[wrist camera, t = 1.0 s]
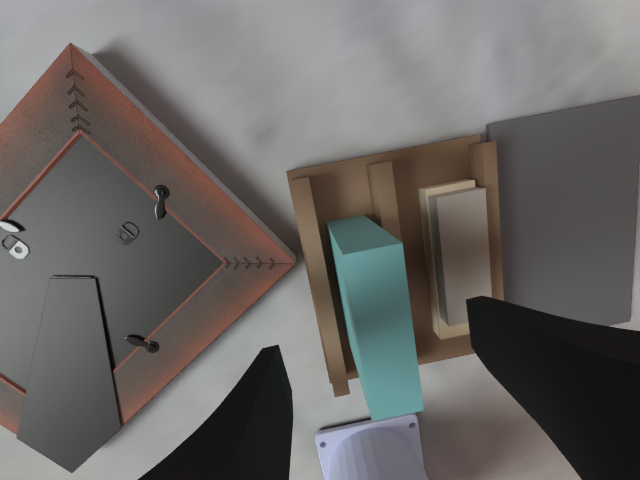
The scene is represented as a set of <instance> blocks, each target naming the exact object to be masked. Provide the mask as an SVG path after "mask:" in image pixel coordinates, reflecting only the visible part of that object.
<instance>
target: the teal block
mask: <svg viewBox="0 0 640 480" xmlns="http://www.w3.org/2000/svg"><path fill="white" fill-rule="evenodd" d="M326 224H327V229H328V235H329V240H330V246H331V251H332V256H333V262H334V267H335V273H336V278H337V284H338V289H339V294H340V300H341V305H342V311H343V316H344V322H345V327H346V332H347V337H348V340H349V344H350V347H351V351H352V354H353V357H354V361H355V364H356V368H357V371H358V375H359V378H360V381H361V385H362V388H363V392H364V395H365V399H366V402H367V406H368V409H369V412H370V416H371V419H372V421H377V420H382V419H386V418H391V417H396V416H401V415H405V414H410V413H415V412H419V411H424V409H423V401H422V393H421V385H420V378H419V370H418V362H417V354H416V346H415V338H414V330H413V322H412V314H411V307H410V299H409V291H408V283H407V275H406V267H405V259H404V251H403V243H402V242H400V241H399V240H398V239H396V238H395V237H393V236H392V235H391V234H389V233H388V232H386V231H385V230H384V229H382V228H381V227H380V226H378V225H377V224H375V223H374V222H373V221H371V220H370V219H369V218H367V217H366V216H364V215H361V216H356V217H351V218H346V219H341V220H335V221H330V222H326Z"/></svg>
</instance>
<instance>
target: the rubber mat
mask: <svg viewBox="0 0 640 480" xmlns="http://www.w3.org/2000/svg"><path fill="white" fill-rule="evenodd" d="M486 131H487V142H490V141H496V150H497V171H498V191H499V212H500V233H501V253H502V274H503V294H504V301H506V302H509V303H513V304H516V305H520V306H523V307H527V308H530V309H534V310H537V311H541V312H545V313H549V314H552V315H556V316H561V317H565V318H569V319H573V320H578V321H582V322H587V323H592V324H598V325H603V326H610V325H614V324H619V323H624V322H629V321H630V318H631V300H632V283H633V265H634V248H635V230H636V213H637V195H638V178H639V161H640V95H639V96H634V97H629V98H624V99H618V100H613V101H608V102H603V103H597V104H592V105H587V106H582V107H577V108H571V109H566V110H561V111H556V112H550V113H545V114H540V115H535V116H529V117H524V118H519V119H514V120H509V121H503V122H498V123H493V124H488V125H486Z"/></svg>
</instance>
